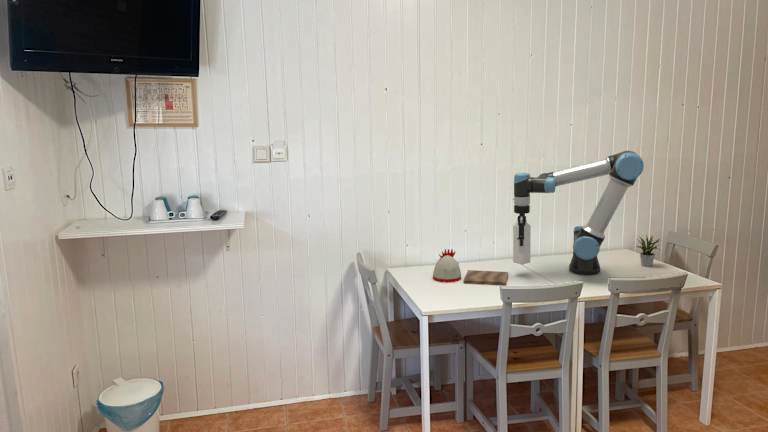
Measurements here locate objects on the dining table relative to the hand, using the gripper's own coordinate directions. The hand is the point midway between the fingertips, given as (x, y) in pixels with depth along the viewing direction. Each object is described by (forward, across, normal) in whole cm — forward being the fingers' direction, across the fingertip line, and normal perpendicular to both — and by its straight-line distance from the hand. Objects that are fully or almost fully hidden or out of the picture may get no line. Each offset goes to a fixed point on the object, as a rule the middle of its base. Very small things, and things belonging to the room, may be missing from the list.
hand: (521, 250), depth 307 cm
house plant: (+14, -27, +62) cm, 69 cm away
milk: (+7, 0, 0) cm, 7 cm away
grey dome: (+13, +12, -36) cm, 40 cm away
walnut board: (+13, +10, -17) cm, 23 cm away
